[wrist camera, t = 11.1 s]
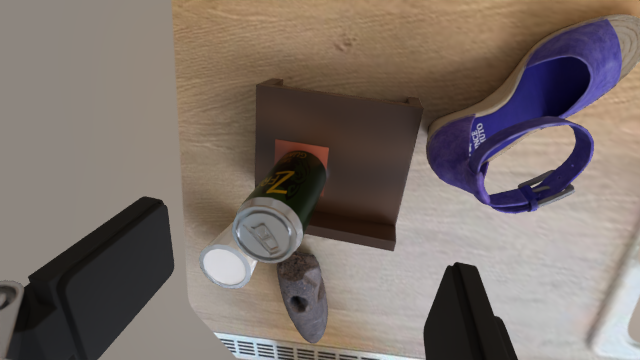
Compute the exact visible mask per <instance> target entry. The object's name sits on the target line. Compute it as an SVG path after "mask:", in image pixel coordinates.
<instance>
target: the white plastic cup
mask: <svg viewBox="0 0 640 360" xmlns="http://www.w3.org/2000/svg"><path fill="white" fill-rule="evenodd" d="M232 227H233V222H232V223H231V224H230V225H229V226H228V227H227V228H226V229H225V230H224V231H222V232H221V233H220V234H219V235H218V236H217V237H216V238H215V239H214V240H213V241H212V242H211V243H210V244H209V245H208V246H207V247H205V248H204V249H203V250H202V251H201V254H200V257H199V262H200V268H201V269H202V271H203V273H204V274H205V276H206V277H207V278H209V279H210V280H211V281H212V282H213V283H215V284H217V285H219V286H221V287H224V288H230V289H235V288H241V287H243V286H244V285H246V284H247V283H248V282H249V280H250V277H251V275H252V273H253V270H254V268H255V266H256V263H257V260H254V259H252V258H251V257H249V256H248V255H246V254H245V253H244V252H243V251H242V250H241V249H240V248H239V247H238V245H237V243H236V242H235V240H234V237H233V232H232Z"/></svg>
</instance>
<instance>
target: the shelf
mask: <svg viewBox="0 0 640 360" xmlns="http://www.w3.org/2000/svg"><path fill="white" fill-rule="evenodd" d="M423 109H424V108H423V106H422V104H421V102H420V99H419V98H415V97H408V98H407V102H406V103H401V102H393V101H386V100H379V99H372V98H365V97H357V96H350V95H343V94H336V93H329V92H321V91H314V90H307V89H300V88H293V87H285V86H283V79H276V78H272V79H270V80H267V81H265V82H262V83H260V84H257V85H256V149H255V188H256V187H257V186H258V185H259V184H260V182H261V181H262V180H263V179H264V178H265V176H266V175H267V174H268V173H269V172H270V170H271V169H272V168H273V167H274V166H275V165H276V163H277V162H278V161H279V160H280V159H281V157H283V156H284V155H285V154H287V153H288V152H292V151H295V150H303V151H306V152H310V153H312V154H313V155H315V156H316V157H318V158H319V160H320V161H321V162H322V163H323V165H324V167H325V170H326V178H327V179H326V183H325V186H324V188H323V191H322V193H321V196H320V198H319V200H318V203H317V205H316V208H315V210H314V213H313V215H312V217H311V220H310V222H309V225H308V227H307V230H306V232H305V234H309V235H314V236H319V237H324V238H329V239H334V240H339V241H344V242H349V243H354V244H359V245H364V246H369V247H374V248H379V249H384V250H389V251H394V248H395V244H396V227H395V226H396V222H397V217H398V213H399V209H400V205H401V201H402V197H403V192H404V188H405V184H406V180H407V176H408V172H409V168H410V163H411V159H412V155H413V151H414V147H415V143H416V138H417V134H418V130H419V126H420V122H421V118H422V114H423Z"/></svg>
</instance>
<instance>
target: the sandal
mask: <svg viewBox="0 0 640 360" xmlns="http://www.w3.org/2000/svg"><path fill="white" fill-rule="evenodd" d="M639 61H640V18H637V17H635V16H632V15H627V14H613V15H607V16H601V17H597V18H593V19H589V20H586V21H582V22H580V23H577V24H574V25H571V26H568V27H565V28H563V29H560V30H558V31H556V32H554V33H552V34H549V35H547V36H546V37H544V38H543V39H541V40H540V41H539V42H537V43H536V44H535V45H534V46H533V47H532V48H531V49H530V50H529V51H528V52H527V53H526V55H525V56H524V57H523V58H522V59H521V61H520V62H519V63H518V64H517V66H516V67H515V68H514V70H513V71H512V72H511V73H510V75H509V76H508V77H507V79H506V80H505V81H504V82H503V84H502V85H501V86H500V87H499V88H498V89H496V90H495V91H494V92H493V93H492V94H491V95H489V96H488V97H486V98H485V99H483V100H482V101H480V102H478V103H476V104H474V105H472V106H470V107H468V108H465V109H463V110H460V111H458V112H456V111H455V112H452V113H449V114H447V115H445V116H442V117H440V118H438V119H436V120H434V121H433V122H432V123H431V124H430V125H429V128H428V138H427V145H426V154H427V160H428V162H429V164H430V166H431V168H432V170H433V171H434V172H435V173H436V175H437V176H438V177H439V178H440V179H441V180H443V181H444V182H446V183H448V184H450V185H453V186H456V187H458V188H461V189H463V190H465V191H467V192H469V193H472V194H474V196H475V197H476V198H477V199H478V200H479V201H480V202H481V203H483V204H486V205H489V206H491V207H492V208H493V209H495V210H497V211H500V212H504V213H515V214H516V213H520V212H525V211H528V212H530V211H535V210H537V209H538V208H539V207H542V206H545V205H547V204H550V203H552V202H555V201H557V200H560V199H562V198H564V197H566V196H569V195H571V194H573V193H574V192H575V190H574V186H573V185H571V184H570V183H571V182H572V181H573V180H574V179H575V178H576V177H577V176H578V175H579V174H580V173H581V172H582V171H583V170H584V169H585V167H586V166H587V165H588V163H589V162H590V161H591V158H592V156H593V151H594V141H593V138H592V136H591V135H590V133H589V132H588V130H587V129H585V128H584V127H582V126H581V125H578V124H575V123H573V122H570V121H568V120H565V118H567V117H569V116H571V115H573V114H575V113H577V112H578V111H580V110H582V109H583V108H586V106H588V105H589V104H592V103H593V102H594V101H596V100H598V99H599V98H600V97H601V96H603V95H605V93H607V92H608V91H610V90H611V89H612V88H613V87H614V86H616V84H617V83H618V82H619V81H620V80H622V79H623V78H624V77H625V76H626V75H627V74H628V73H629V72H630V71H631V70H632V69H633V68H634V67H635V66H636V65H637V64H638V63H639ZM560 125H569V126H570V127H571V128H573V130H574V134H575V138H576V143H575V147H574V150H573V152H572V153H571V155H570V156H569V158H568V159H567V160H566V161H565V162H564V163H563V164H562V165H561V166H560V167H558V168H557V169H556V170H550V171H548V172H546V173H544V174H542V175H540V176H538V177H535V178H533V179H531V180H529V181H526V182H524V183H521V184H519V185H518V188H519V189H514V190H510V191H506V192H501V193H497V194H492V195H488V193H487V192H486V190H485V187H484V179H485V176H486V173H487V169H488V165H489V162H490V161H492V160H493V159H495V158H496V157H498V156H499V155H501V154H502V153H504V152H505V151H507V150H508V149H510V148H511V147H513V146H514V145H515V144H517V143H518V142H520V141H521V140H523V139H524V138H525V137H527V136H528V135H530V134H532V133H534V132H536V131H538V130H540V129H541V130H542V129H543V128H545V127H551V126H560ZM541 181H542V182H541ZM539 182H541V183H540V184H539V185H537V186H535V187H533V188H531V187H530V186H532V185H534V184H536V183H539ZM564 189H565V190H564ZM562 190H564V191H562ZM561 191H562V192H561Z"/></svg>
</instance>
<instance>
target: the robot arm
mask: <svg viewBox="0 0 640 360" xmlns="http://www.w3.org/2000/svg"><path fill="white" fill-rule="evenodd" d="M173 270H174V259H173V250H172V242H171V234H170V225H169V216H168V209H167V206H166V205H164V203H163V201H162V200H160V199H155V198H151V197H142V198H140V199H139V200H137V201H136V202H134V203H133V204H132V205H130V206H128V207H127V208H126V209H124V210H123V211H121V212H120V213H118V214H117V215H116V216H114V217H113V218H111V219H110V220H108V221H107V222H106V223H104V224H103V225H101V226H100V227H98V228H97V229H96V230H94V231H93V232H92V233H90V234H88V235H87V236H86V237H84V238H83V239H81V240H80V241H78V242H77V243H76V244H74V245H73V246H71V247H70V248H68V249H67V250H66V251H64V252H63V253H61V254H60V255H58V256H57V257H56V258H54V259H53V260H51V261H50V262H49V263H47V264H46V265H44V266H43V267H41V268H40V269H38V270H37V271H36V272H34V273H33V274H31V275H30V276H29V277H28V278H29V281H30V283H29V284H28V285H27V286H25V287H23V286H22V285H21V284H20V283H18V282H15V281H6V280H4V281H0V360H97V359H98V358H99V357H100V356H101V355H102V354H103V353H104V352H105V351H106V350H107V348H108V347H109V346H110V345H111V344H112V343H113V341H114V340H115V339H116V338H117V337H118V336H119V335H120V333H121V332H122V331H123V330H124V329H125V328H126V326H127V325H128V324H129V323H130V322H131V321H132V320H133V318H134V317H135V316H136V315H137V314H138V313H139V312H140V310H141V309H142V308H143V307H144V306H145V305H146V303H147V302H148V301H149V300H150V299H151V298H152V297H153V295H154V294H155V293H156V292H157V291H158V290H159V288H160V287H161V286H162V285H163V284H164V283H165V282H166V280H167V279H168V278H169V277H170V276H171V274H172V272H173ZM424 346H425V355H426V360H518V359H517V356H516V353H515V351H514V348H513V345H512V343H511V340H510V338H509V335H508V332H507V330H506V327H505V325H504V323H503V321H502V319H501V318H500V317H497V316H494V314H493V311H492V308H491V305H490V302H489V300H488V297H487V294H486V291H485V288H484V286H483V283H482V280H481V277H480V274H479V272H478V269H477V267H476V266H473V265H468V264H463V263H459V262H455V263H454V265H453V266H450V265H449V266H447V268H446V270H445V273H444V275H443V278H442V281H441V283H440V286H439V289H438V291H437V294H436V296H435V299H434V302H433V304H432V307H431V310H430V312H429V315H428V318H427V320H426V323H425V326H424Z"/></svg>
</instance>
